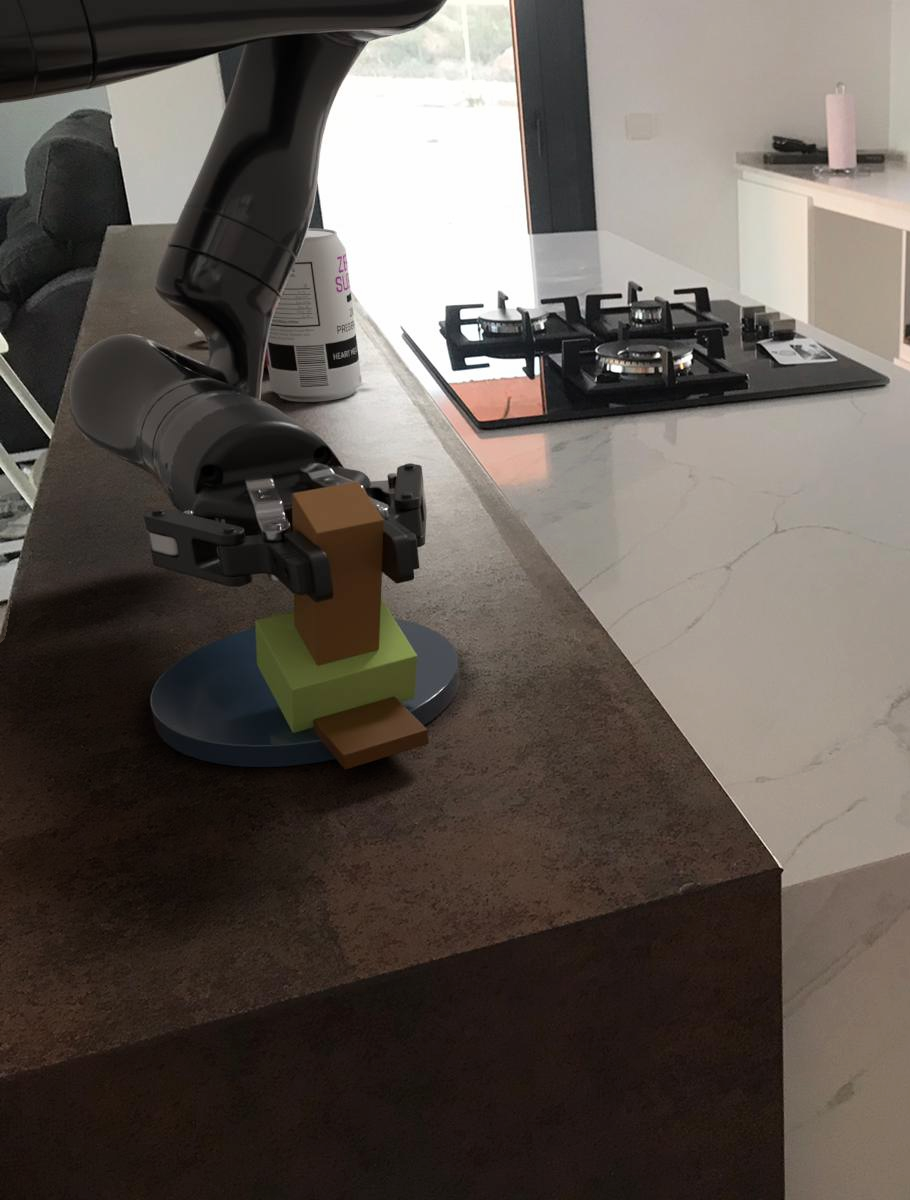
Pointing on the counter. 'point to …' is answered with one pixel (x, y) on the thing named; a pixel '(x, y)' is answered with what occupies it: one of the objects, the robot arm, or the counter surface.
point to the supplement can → (315, 326)
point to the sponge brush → (337, 618)
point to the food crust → (370, 732)
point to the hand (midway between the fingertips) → (364, 570)
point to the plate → (270, 702)
